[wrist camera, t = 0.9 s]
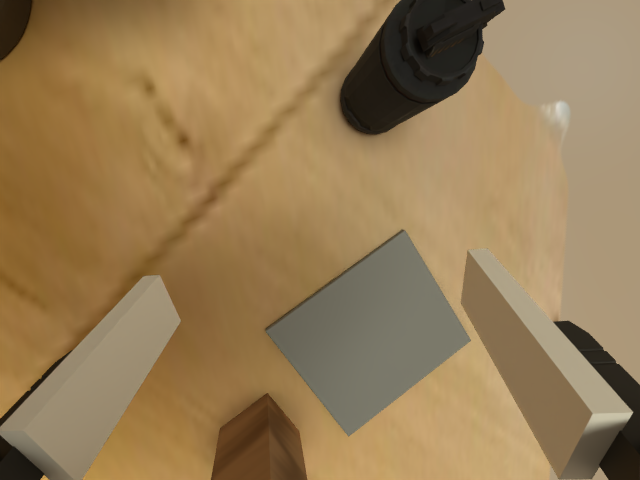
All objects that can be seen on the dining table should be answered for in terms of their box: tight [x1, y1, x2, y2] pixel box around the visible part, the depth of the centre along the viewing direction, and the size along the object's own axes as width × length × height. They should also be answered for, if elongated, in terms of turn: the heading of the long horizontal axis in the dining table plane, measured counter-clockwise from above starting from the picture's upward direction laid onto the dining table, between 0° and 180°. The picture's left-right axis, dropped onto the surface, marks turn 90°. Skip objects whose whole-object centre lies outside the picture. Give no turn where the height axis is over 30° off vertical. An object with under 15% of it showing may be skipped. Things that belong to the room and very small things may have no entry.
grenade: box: [341, 0, 505, 134], centre depth 23 cm, size 7×7×15 cm
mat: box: [266, 230, 471, 436], centre depth 33 cm, size 16×18×1 cm
